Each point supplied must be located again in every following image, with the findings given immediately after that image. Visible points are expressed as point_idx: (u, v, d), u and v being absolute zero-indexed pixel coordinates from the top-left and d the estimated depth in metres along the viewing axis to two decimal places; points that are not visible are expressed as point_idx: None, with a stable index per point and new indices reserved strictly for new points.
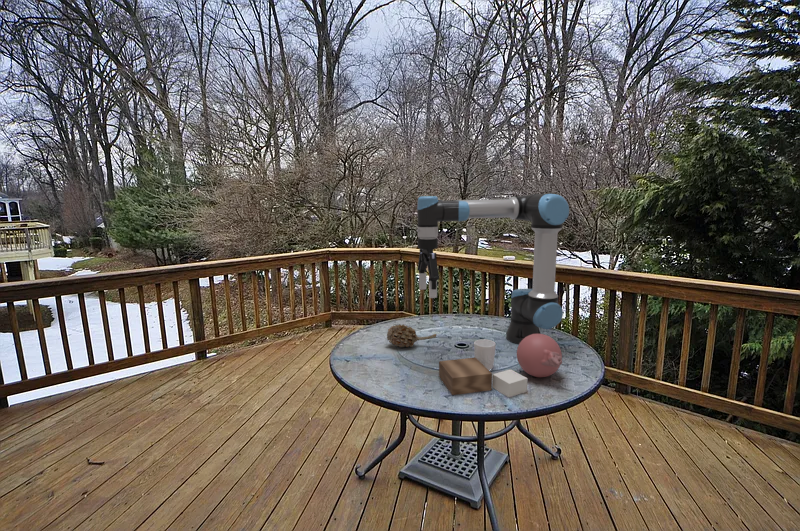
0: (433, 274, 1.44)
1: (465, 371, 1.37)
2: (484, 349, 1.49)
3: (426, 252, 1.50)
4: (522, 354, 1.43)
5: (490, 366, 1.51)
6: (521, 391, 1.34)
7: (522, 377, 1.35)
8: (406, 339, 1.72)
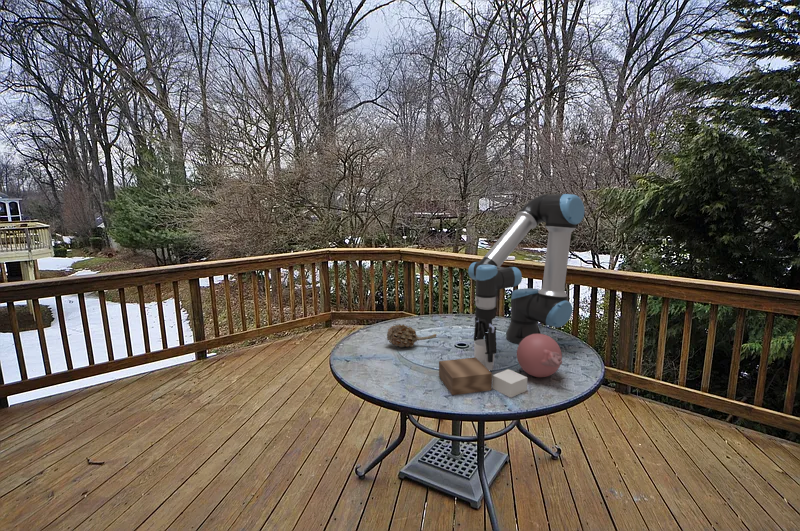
0: (491, 349, 1.45)
1: (465, 371, 1.37)
2: (484, 349, 1.49)
3: (485, 321, 1.48)
4: (522, 354, 1.43)
5: None
6: (522, 390, 1.35)
7: (522, 376, 1.36)
8: (406, 339, 1.72)
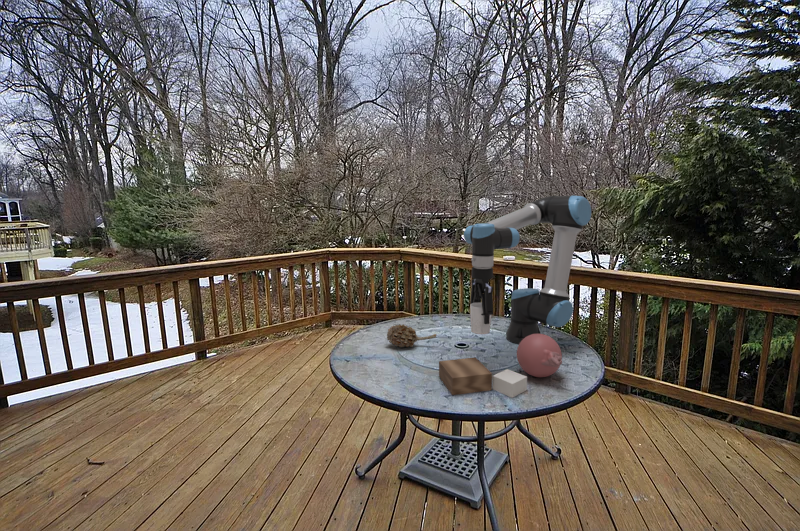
0: (487, 309, 1.40)
1: (465, 371, 1.37)
2: (480, 310, 1.44)
3: (481, 281, 1.43)
4: (522, 354, 1.43)
5: None
6: (522, 390, 1.35)
7: (522, 376, 1.36)
8: (406, 339, 1.72)
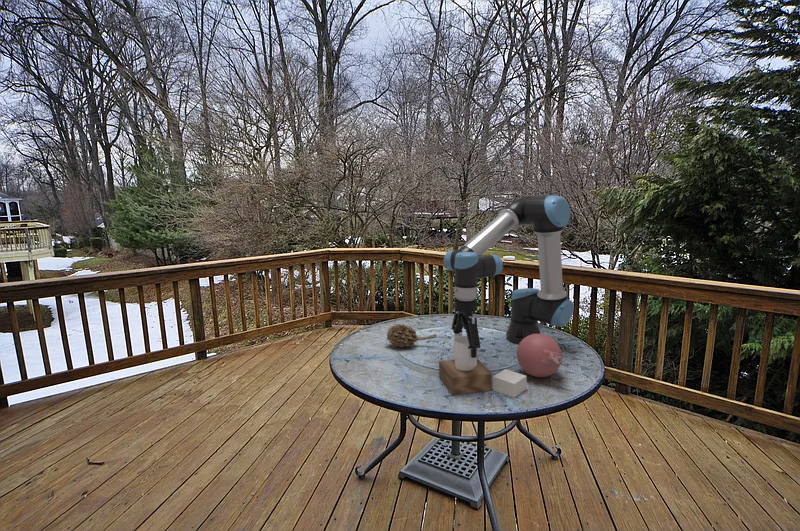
0: (474, 342, 1.30)
1: (465, 371, 1.37)
2: (464, 346, 1.36)
3: (464, 314, 1.35)
4: (522, 354, 1.43)
5: None
6: (522, 389, 1.35)
7: (521, 375, 1.36)
8: (406, 339, 1.72)
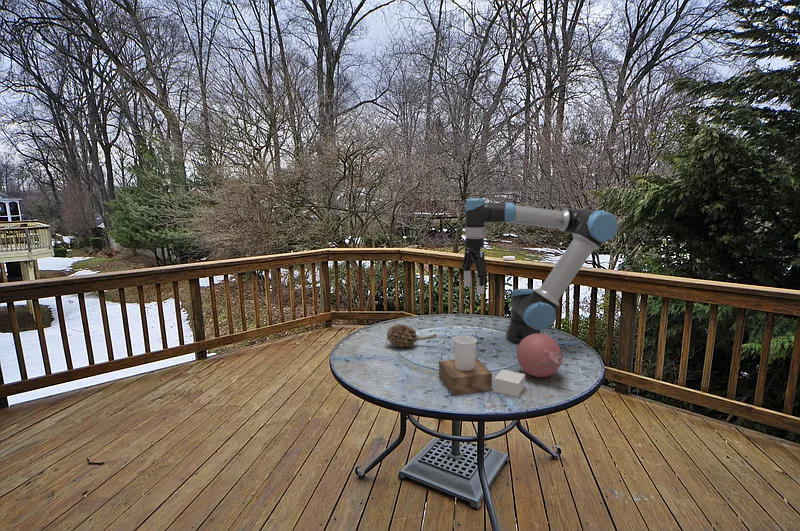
0: (482, 271, 1.54)
1: (465, 371, 1.37)
2: (464, 346, 1.36)
3: (473, 251, 1.60)
4: (522, 354, 1.43)
5: (471, 365, 1.38)
6: (522, 388, 1.36)
7: (520, 374, 1.37)
8: (406, 339, 1.72)
